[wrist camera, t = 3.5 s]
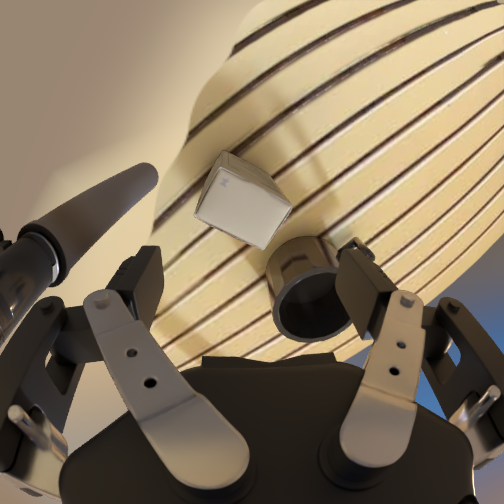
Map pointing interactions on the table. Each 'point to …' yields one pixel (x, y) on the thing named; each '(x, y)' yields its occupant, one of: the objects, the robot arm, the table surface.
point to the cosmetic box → (242, 201)
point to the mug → (308, 288)
